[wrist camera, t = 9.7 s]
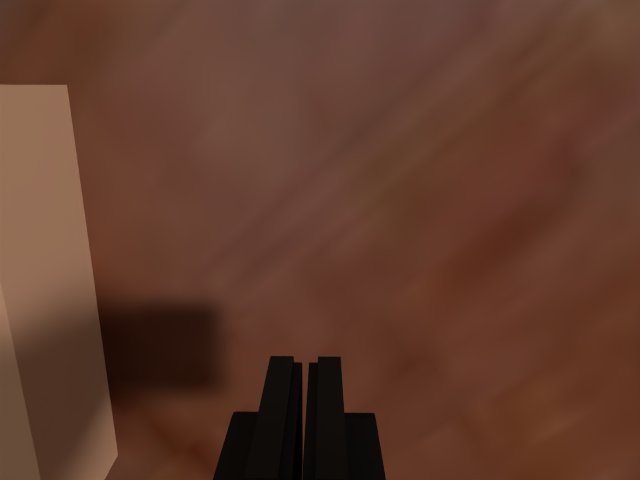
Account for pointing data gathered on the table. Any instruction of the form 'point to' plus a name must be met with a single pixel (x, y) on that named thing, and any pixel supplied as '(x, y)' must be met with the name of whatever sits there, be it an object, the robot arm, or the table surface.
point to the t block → (47, 300)
